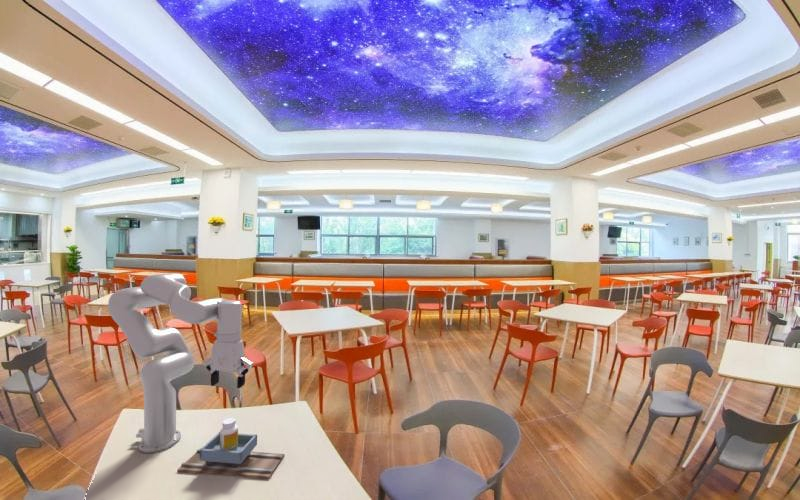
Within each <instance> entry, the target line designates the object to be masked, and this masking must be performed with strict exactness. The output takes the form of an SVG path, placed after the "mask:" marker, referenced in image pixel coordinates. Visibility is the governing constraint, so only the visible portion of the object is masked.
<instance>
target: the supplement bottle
mask: <svg viewBox="0 0 800 500" xmlns="http://www.w3.org/2000/svg"><path fill="white" fill-rule="evenodd" d="M236 419H237V418H234V417H229V418H225V419H223V420H222V424H221V426H222V427H221V428H220V429H219V431H220V450H228V451H235V450H236V449H237V448H238V433H239V426H238V424H237V423H236V421H237V420H236Z"/></svg>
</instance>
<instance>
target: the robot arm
mask: <svg viewBox="0 0 800 500" xmlns="http://www.w3.org/2000/svg"><path fill="white" fill-rule="evenodd" d="M191 296H192V291H191V288H190V287H189V286H188V285H187V280H186V278H185V276H183V275H182V274H180V273H177V272H169V273H157V274H152V275H149V276H147V277H145V278H144V279H143V280H142V281H141V283H140V286H133V287H127V288H123V289H122V288H121V289H119V290H116V291H115V292H113V293H112V294H111V295H110V296H109V299H108V304H107V307H108V308H107V309H108V313H109V315H110V316H111V318H112V320H113V321H114V322H115V323H116V324H117V326H119V328H120V330H121V331H122V332H123V334H124V337H125V339H126V340H127V343H128V344H129V346H130V349H131V350H132V352H133V353H134V355H135V356H136V357H137V358H138V359H139V360H146V359H150V358H153V357H157V356H159V355H162V356H160V357H157V358H154V359H152V360H149V361H147V363H145V364H144V365H142V367H141V368H140V374H139V376H140V380H141V385H142V389H143V408H144V410H143V416H144V417H143V419H144V421H143V423H144V424H143V425H144V426H143V427H142V428H140V429H139V430H138V431H137V433H136V435H135V438H136V439H137V438H141V441H140V442H139V444H138V451H140V452H141V453H145V454H150V453H157V452H160V451H164V450H166V449H168V448H170V447H173V446H174V445H176V444H177V443H178V442H179V441H180V440H181V437H182V434H181V433H182V432H181V431H180V430H178V429H177V392H176V388H175V387H174V386H173V385H172V383H171V381H172V380H174V379H177V378H179V377H182V376H183V375H186V374H188V373H189V372H191V371H192V370H193V368H194V366H195V358H194V355H193V353H192V352H191V349H190V347H189V345H188V343H187V342H186V341H185V339H184V337H183V335H182V333H181V332H180V331H179V330H178V329H177V328H174V327H170V326H167V327H163V328H159V329H157V328H155V327H154V325H153V324H152V322H151V319H149V318H148V317H147V316H146V315H145V314H143V313H141V312H139V311H137V310H141V309H147V308H151V307H152V308H153V307H155V306H157V307H158V306H161V305H163V304H166V305H168V306H169V307H168V308H169V309H170V313H171V314H172V315H173V316H174V317H175V318H177V320H180V321H182V322H184V323H187V324H192V325H201V324H205V323H209V322H212V321H215V320H216V332H214V333H213V336H214V337H216V340H214V341H213V345H212V349H211V354H210V355H211V356H210V357H208V358H207V359H205V360H204V361H203V362H204V365H205V366H206V367H205V368H206V369H207V371H208V373H209V375H210V386H211V387H213V386H215V385H216V384H218V383H220V372H224V373H225V372H226V373H236V374H237V375H238V376H237V379H236V388H237V389H241V388H242V387H243V386H245V383H246V375H247V373H248V372H249V371H251V368H252V367H253V365H254V364H253V362H252V361H250V360H248V359H247V358H246V357H245V346H244V341H243V339H242V319H243V317H242V316H243V312H242V311H243V304H242V302H241V301H240V300H233V299H231V300H229V299H226V298H223V297H213V298H209V299H208V298H207V299H203V300H198V301H193V300H190V299H191ZM163 354H166V355H163Z"/></svg>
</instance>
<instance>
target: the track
mask: <svg viewBox="0 0 800 500" xmlns="http://www.w3.org/2000/svg"><path fill="white" fill-rule="evenodd" d="M200 449H201V448H198V449H196V452H195V453H194V454H193V455H192V456H191V457H189V458H188V459H187V460H186V461H185V462H182V463H181V465H180V466H179V467H178V468H177V472H178V473H187V474H189V473H190V474H199V475H200V474H202V475H203V474H204V475H214V476H215V475H216V476H227V477H238V478H239V477H240V478H248V479H249V478H251V479H264V480H270V479H271V477H272V475H273V474H274V472H275V471H276V470H277V468H278V467H279V465H280V464H281V462H282V461H283V459H284V457H285V453H275V452H262V451H260V452H259V451H251V452H250V453H249V455H248V456H247V457H246V458H245V459H244V460H243V462H242V463H241V464H240V465H239V466H238V467H237V468H234V467H232V463H222V462H214V463H213V464H212V465H211V466H207V465H206V463H205V461H199V450H200Z"/></svg>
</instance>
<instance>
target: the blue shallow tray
mask: <svg viewBox="0 0 800 500" xmlns="http://www.w3.org/2000/svg"><path fill="white" fill-rule="evenodd" d="M257 445H258V434H254V433H253V434H251V433H249V434H248V433H239V432H238V448H237V449H236V450H235V451H228V450H220V432H218V433H217V434H216V435H214V436H213V437H212V438H211V439H210V440H209V441H208V442H207V443H206V444H204V446H202V447H200V448H199V449H200V450H199V461H205V463H206V465H207V466H211V465H212V464H213V463H214V462H222V463H232V467H234V468H237V467H238V466H239V465H240V464H241V463H242V462H243V460H244V459H245V458H246V457H247V456H248V455H249V453H250V452H253V450H254V449H255V448H256V447H257Z"/></svg>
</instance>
